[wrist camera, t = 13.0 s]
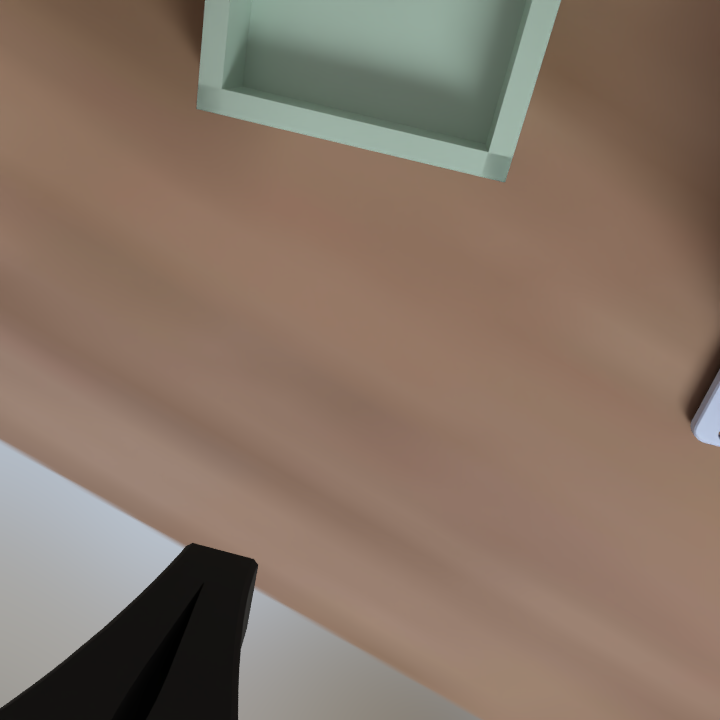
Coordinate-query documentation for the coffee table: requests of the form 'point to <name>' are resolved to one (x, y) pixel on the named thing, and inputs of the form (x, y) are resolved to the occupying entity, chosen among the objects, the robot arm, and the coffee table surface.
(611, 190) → the coffee table surface
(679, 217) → the coffee table surface
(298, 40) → the tray
